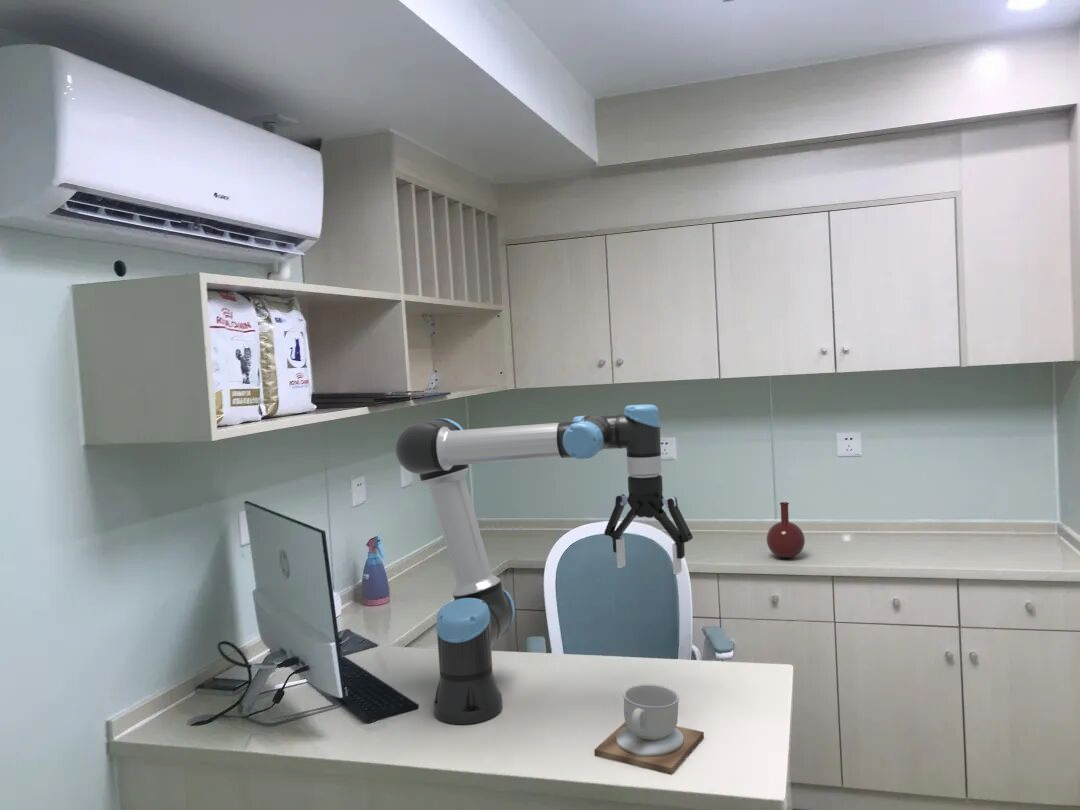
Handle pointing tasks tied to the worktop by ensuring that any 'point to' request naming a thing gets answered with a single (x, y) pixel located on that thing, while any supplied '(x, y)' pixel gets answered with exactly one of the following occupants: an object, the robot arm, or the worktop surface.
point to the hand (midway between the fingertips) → (649, 570)
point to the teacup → (650, 710)
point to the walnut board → (650, 748)
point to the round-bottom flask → (785, 536)
